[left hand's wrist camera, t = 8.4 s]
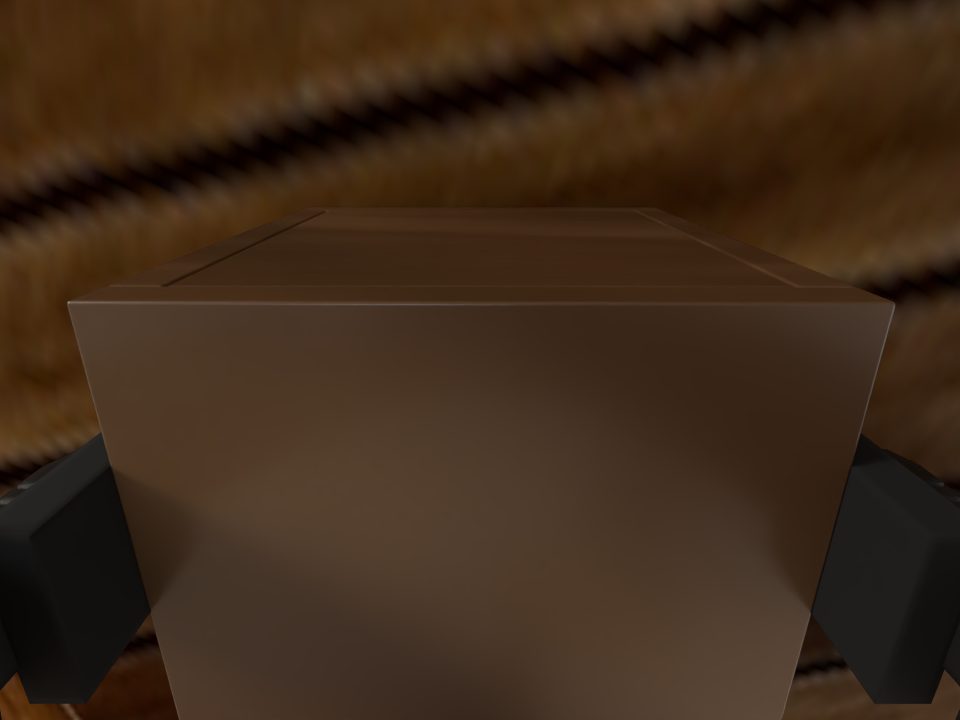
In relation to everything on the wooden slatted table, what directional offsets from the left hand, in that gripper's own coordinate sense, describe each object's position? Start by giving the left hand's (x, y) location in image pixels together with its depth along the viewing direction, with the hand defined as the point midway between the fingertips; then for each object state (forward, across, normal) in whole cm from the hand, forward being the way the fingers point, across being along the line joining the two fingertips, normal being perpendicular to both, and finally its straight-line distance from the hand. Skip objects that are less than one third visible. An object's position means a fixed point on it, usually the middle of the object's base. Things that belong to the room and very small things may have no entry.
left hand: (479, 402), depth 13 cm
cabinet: (+6, 0, -6) cm, 8 cm away
